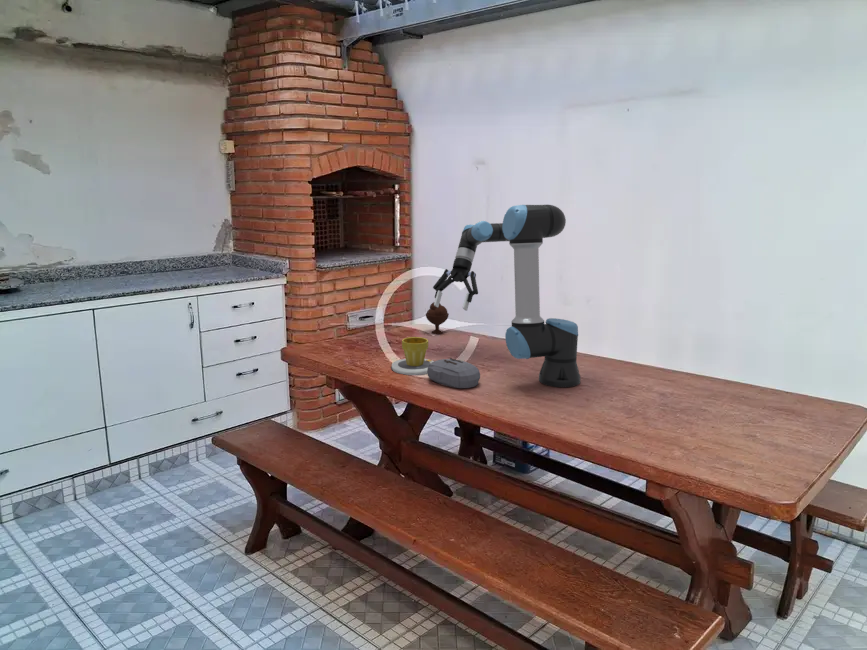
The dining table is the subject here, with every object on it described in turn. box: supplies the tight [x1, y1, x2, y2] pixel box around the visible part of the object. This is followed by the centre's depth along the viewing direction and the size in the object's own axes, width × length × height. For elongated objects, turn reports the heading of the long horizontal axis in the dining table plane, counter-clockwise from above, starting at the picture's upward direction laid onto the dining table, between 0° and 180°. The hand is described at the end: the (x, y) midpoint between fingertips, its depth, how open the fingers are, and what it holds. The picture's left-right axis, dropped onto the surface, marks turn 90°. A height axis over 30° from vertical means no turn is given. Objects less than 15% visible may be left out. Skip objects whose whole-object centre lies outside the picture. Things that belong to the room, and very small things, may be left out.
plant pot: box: [401, 336, 429, 366], centre depth 257 cm, size 10×10×10 cm
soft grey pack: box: [426, 357, 481, 389], centre depth 241 cm, size 15×8×20 cm
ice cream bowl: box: [425, 301, 450, 335], centre depth 313 cm, size 11×11×15 cm
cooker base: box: [391, 358, 434, 376], centre depth 258 cm, size 18×18×2 cm
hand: (450, 307), depth 267 cm, fingers open, 13 cm apart
